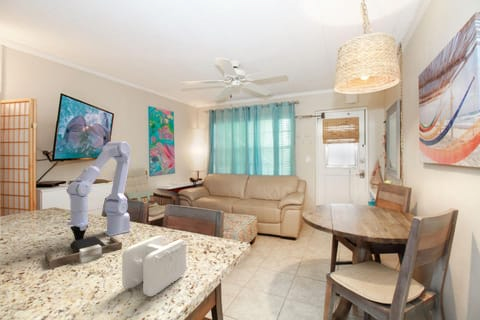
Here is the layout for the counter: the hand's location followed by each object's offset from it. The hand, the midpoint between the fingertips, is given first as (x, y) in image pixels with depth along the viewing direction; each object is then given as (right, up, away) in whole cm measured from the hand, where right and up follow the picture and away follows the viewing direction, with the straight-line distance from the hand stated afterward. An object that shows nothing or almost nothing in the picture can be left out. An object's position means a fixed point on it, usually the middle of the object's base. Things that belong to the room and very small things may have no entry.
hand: (79, 243), depth 92 cm
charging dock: (+9, -1, -8) cm, 12 cm away
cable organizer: (+42, -2, -26) cm, 50 cm away
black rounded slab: (+6, -1, -4) cm, 7 cm away
